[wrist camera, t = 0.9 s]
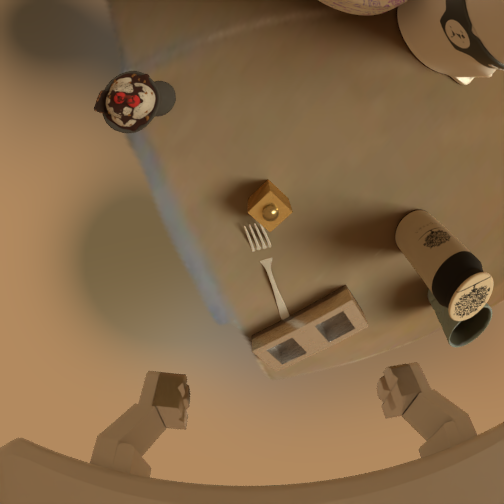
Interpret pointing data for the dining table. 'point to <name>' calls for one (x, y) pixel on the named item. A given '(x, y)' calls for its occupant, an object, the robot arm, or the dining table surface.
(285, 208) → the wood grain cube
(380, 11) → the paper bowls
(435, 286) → the travel mug
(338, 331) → the tan windowed box
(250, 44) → the dining table surface
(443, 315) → the green cup
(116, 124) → the sundae
